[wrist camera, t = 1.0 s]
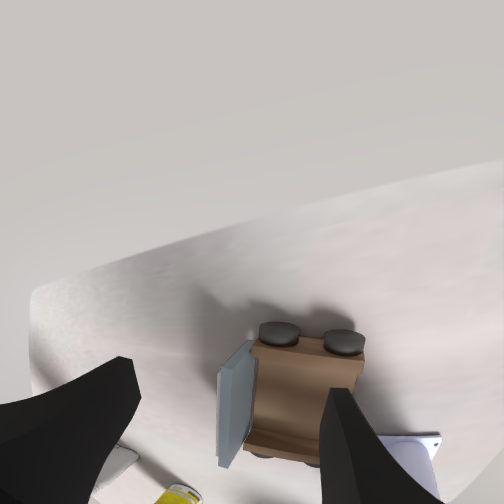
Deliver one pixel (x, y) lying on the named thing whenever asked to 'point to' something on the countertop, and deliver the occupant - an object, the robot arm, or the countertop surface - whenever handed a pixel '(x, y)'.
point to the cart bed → (298, 388)
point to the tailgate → (234, 403)
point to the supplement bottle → (179, 496)
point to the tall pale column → (114, 466)
